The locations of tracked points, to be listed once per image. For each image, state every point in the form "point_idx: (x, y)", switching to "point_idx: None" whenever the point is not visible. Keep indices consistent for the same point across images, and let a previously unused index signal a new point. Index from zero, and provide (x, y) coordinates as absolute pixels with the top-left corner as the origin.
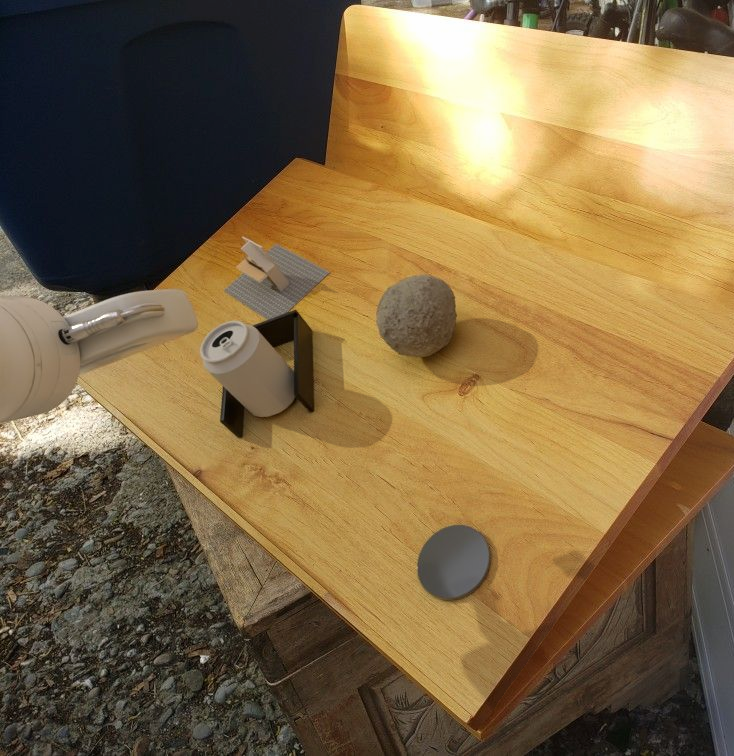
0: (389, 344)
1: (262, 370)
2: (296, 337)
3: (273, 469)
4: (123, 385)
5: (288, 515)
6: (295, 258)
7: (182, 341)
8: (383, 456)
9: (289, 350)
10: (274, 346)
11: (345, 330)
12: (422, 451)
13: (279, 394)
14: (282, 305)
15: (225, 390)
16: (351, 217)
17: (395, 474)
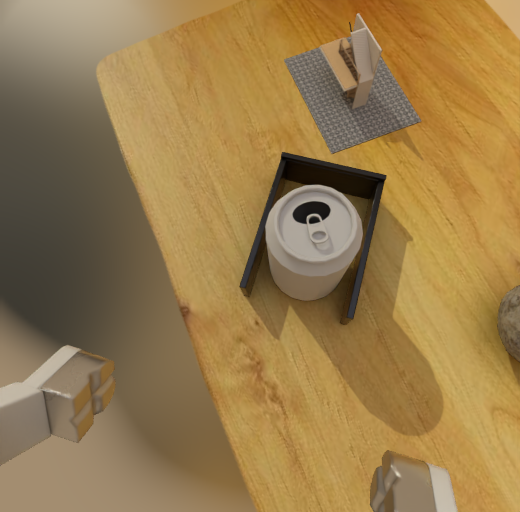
0: (514, 343)
1: (334, 279)
2: (373, 220)
3: (272, 375)
4: (136, 118)
5: (272, 461)
6: (383, 70)
7: (217, 101)
8: None
9: None
10: None
11: (417, 226)
12: (469, 498)
13: (323, 293)
14: (348, 131)
15: (259, 240)
16: (470, 53)
17: None
